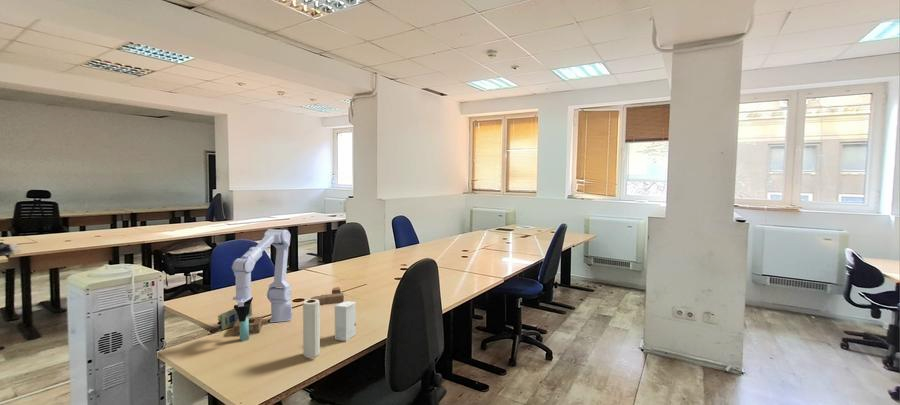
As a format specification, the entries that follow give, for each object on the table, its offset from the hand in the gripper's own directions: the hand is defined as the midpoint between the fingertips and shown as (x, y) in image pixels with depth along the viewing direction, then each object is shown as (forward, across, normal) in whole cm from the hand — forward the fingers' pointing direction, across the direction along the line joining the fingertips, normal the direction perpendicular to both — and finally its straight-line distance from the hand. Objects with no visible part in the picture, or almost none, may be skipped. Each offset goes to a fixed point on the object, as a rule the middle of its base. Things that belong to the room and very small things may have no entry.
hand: (244, 318), depth 165 cm
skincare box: (+9, +10, +41) cm, 43 cm away
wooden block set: (+10, -46, +35) cm, 59 cm away
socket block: (+9, -10, 0) cm, 14 cm away
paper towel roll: (+9, +24, +27) cm, 37 cm away
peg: (+9, 0, 0) cm, 9 cm away
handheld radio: (+10, -21, -9) cm, 25 cm away
